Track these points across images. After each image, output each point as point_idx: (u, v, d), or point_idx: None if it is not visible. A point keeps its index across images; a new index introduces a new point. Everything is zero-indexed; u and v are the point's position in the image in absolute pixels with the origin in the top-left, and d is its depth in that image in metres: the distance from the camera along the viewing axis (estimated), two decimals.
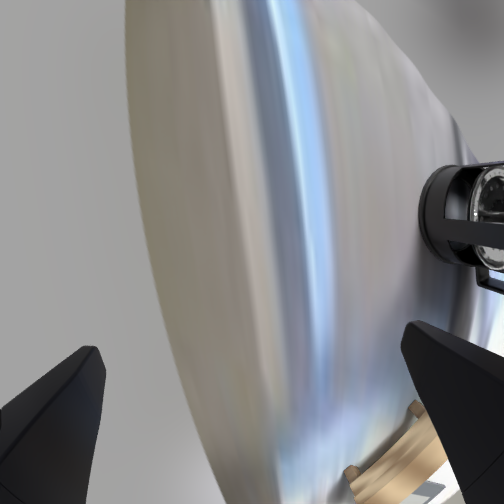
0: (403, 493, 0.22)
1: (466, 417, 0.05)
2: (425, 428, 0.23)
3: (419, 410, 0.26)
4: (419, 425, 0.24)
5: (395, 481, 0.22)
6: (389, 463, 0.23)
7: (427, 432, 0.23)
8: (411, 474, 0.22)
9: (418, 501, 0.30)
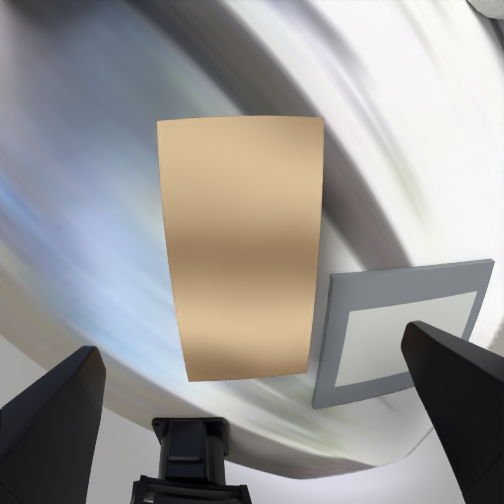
0: (280, 324, 0.14)
1: (466, 417, 0.05)
2: None
3: None
4: None
5: (194, 304, 0.13)
6: None
7: None
8: (222, 274, 0.12)
9: (454, 307, 0.22)
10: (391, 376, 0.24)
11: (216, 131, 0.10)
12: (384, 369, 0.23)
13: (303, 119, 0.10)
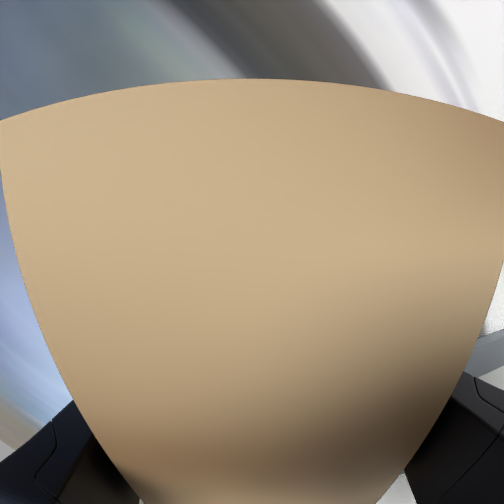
0: None
1: None
2: None
3: None
4: None
5: None
6: None
7: None
8: (236, 483, 0.04)
9: None
10: None
11: (205, 142, 0.02)
12: None
13: (488, 125, 0.03)
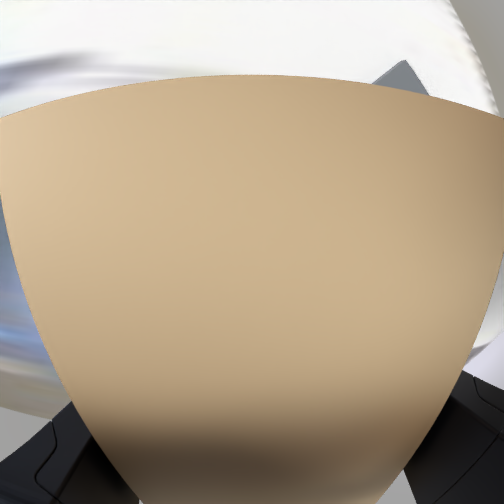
0: None
1: None
2: None
3: None
4: None
5: None
6: None
7: None
8: (234, 482, 0.04)
9: None
10: None
11: (199, 139, 0.02)
12: None
13: (486, 120, 0.03)
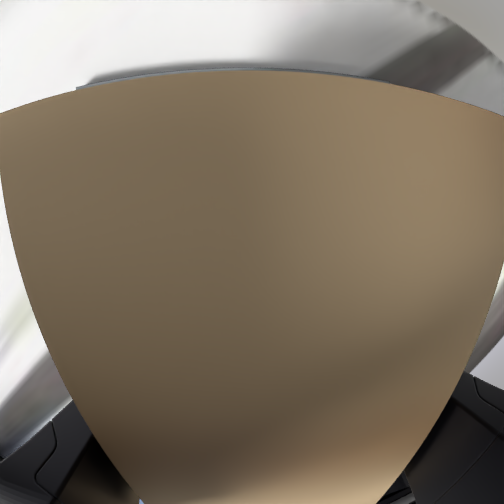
0: None
1: None
2: None
3: None
4: None
5: None
6: None
7: None
8: (236, 482, 0.04)
9: None
10: None
11: (205, 134, 0.02)
12: None
13: (489, 119, 0.03)
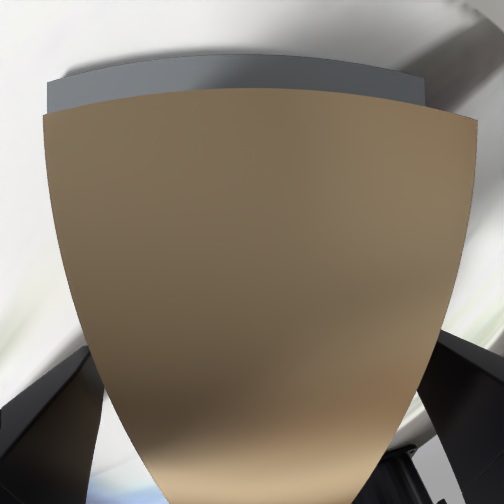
0: (327, 478, 0.07)
1: (466, 417, 0.05)
2: None
3: None
4: None
5: (182, 472, 0.06)
6: None
7: None
8: (233, 443, 0.05)
9: None
10: None
11: (210, 135, 0.03)
12: None
13: (442, 117, 0.03)
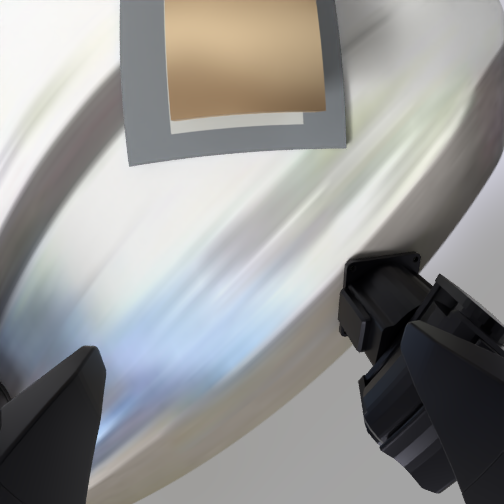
0: (283, 34, 0.10)
1: (466, 417, 0.05)
2: None
3: None
4: None
5: (186, 10, 0.09)
6: None
7: None
8: None
9: None
10: None
11: None
12: None
13: None
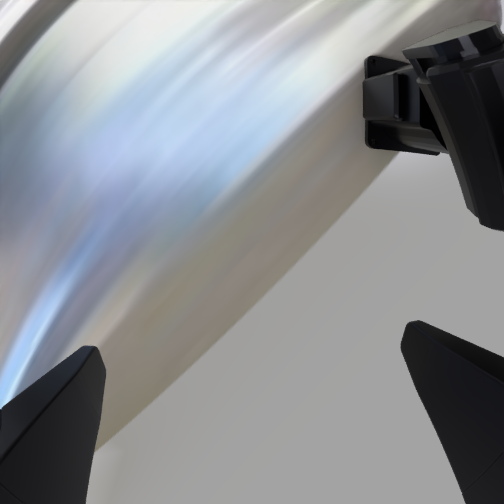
0: None
1: (466, 417, 0.05)
2: None
3: None
4: None
5: None
6: None
7: None
8: None
9: None
10: None
11: None
12: None
13: None
